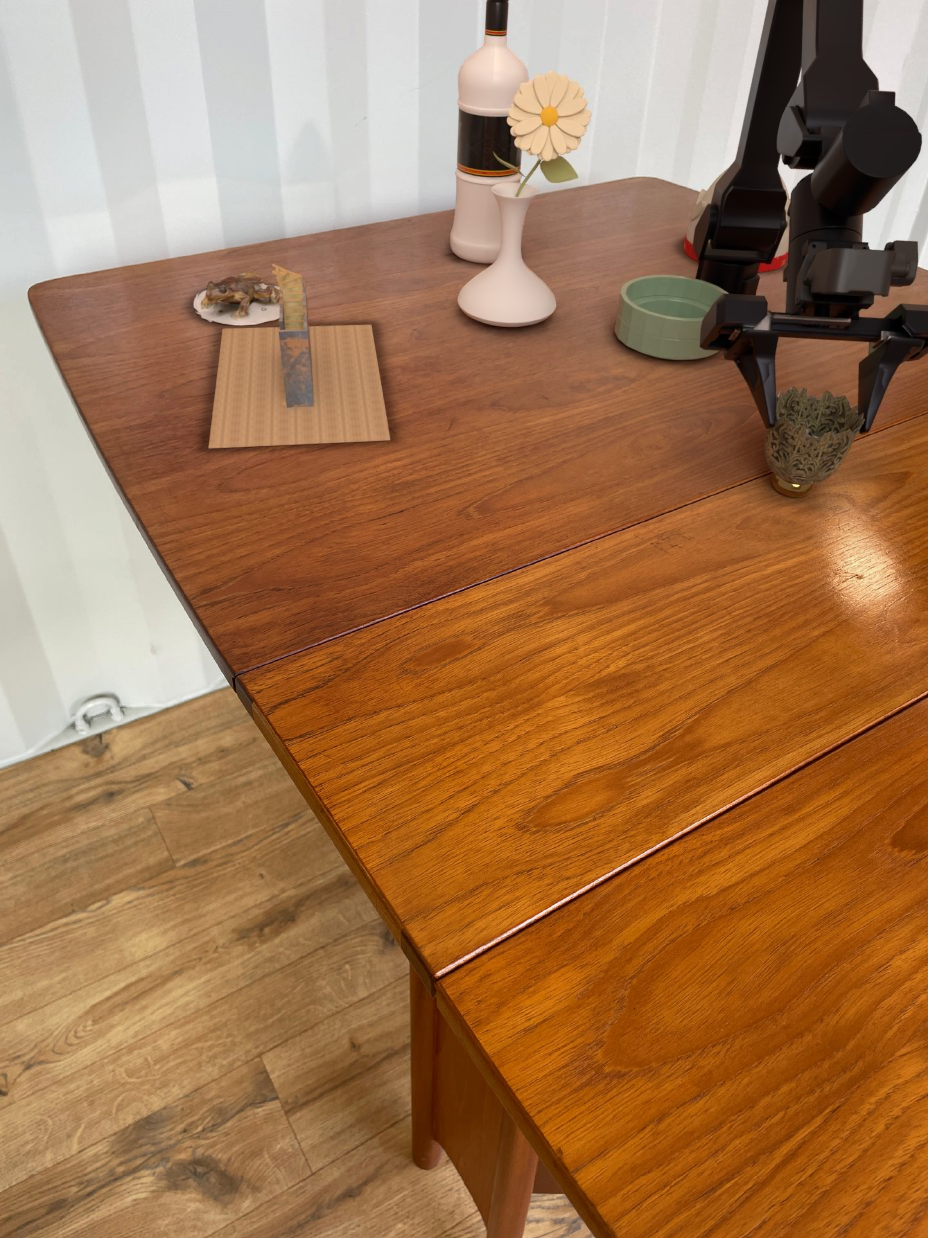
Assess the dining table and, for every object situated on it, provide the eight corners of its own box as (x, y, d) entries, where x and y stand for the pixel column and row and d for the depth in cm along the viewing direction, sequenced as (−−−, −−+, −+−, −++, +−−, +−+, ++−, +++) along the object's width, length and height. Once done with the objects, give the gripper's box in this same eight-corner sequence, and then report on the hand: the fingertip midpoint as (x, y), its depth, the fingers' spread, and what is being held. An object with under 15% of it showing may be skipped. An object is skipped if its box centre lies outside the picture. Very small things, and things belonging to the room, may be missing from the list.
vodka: (478, 271, 113) (491, -17, 93) (435, 248, 119) (439, -29, 99) (533, 257, 118) (557, -21, 98) (490, 235, 123) (504, -32, 103)
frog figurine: (252, 335, 97) (247, 301, 95) (169, 310, 101) (163, 276, 99) (316, 300, 105) (313, 268, 102) (236, 277, 109) (232, 246, 106)
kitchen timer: (785, 241, 125) (817, 122, 115) (788, 277, 115) (824, 150, 105) (685, 230, 127) (708, 112, 117) (680, 264, 117) (705, 139, 107)
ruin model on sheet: (222, 328, 98) (208, 237, 92) (371, 324, 100) (368, 235, 94) (208, 448, 80) (190, 345, 74) (390, 440, 82) (388, 339, 76)
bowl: (591, 335, 101) (597, 291, 97) (660, 308, 107) (668, 266, 103) (676, 375, 94) (686, 330, 91) (745, 344, 100) (756, 301, 97)
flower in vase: (441, 324, 101) (446, 70, 84) (478, 289, 109) (489, 50, 92) (550, 347, 98) (579, 88, 81) (580, 309, 106) (611, 65, 89)
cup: (836, 476, 80) (866, 395, 75) (833, 521, 75) (865, 437, 70) (752, 459, 82) (775, 379, 77) (743, 501, 77) (768, 418, 71)
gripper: (741, 186, 66) (731, 394, 65) (994, 200, 66) (987, 408, 65) (702, 255, 77) (693, 433, 76) (919, 267, 77) (912, 446, 76)
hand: (816, 430), depth 73 cm, fingers closed on cup, 7 cm apart
